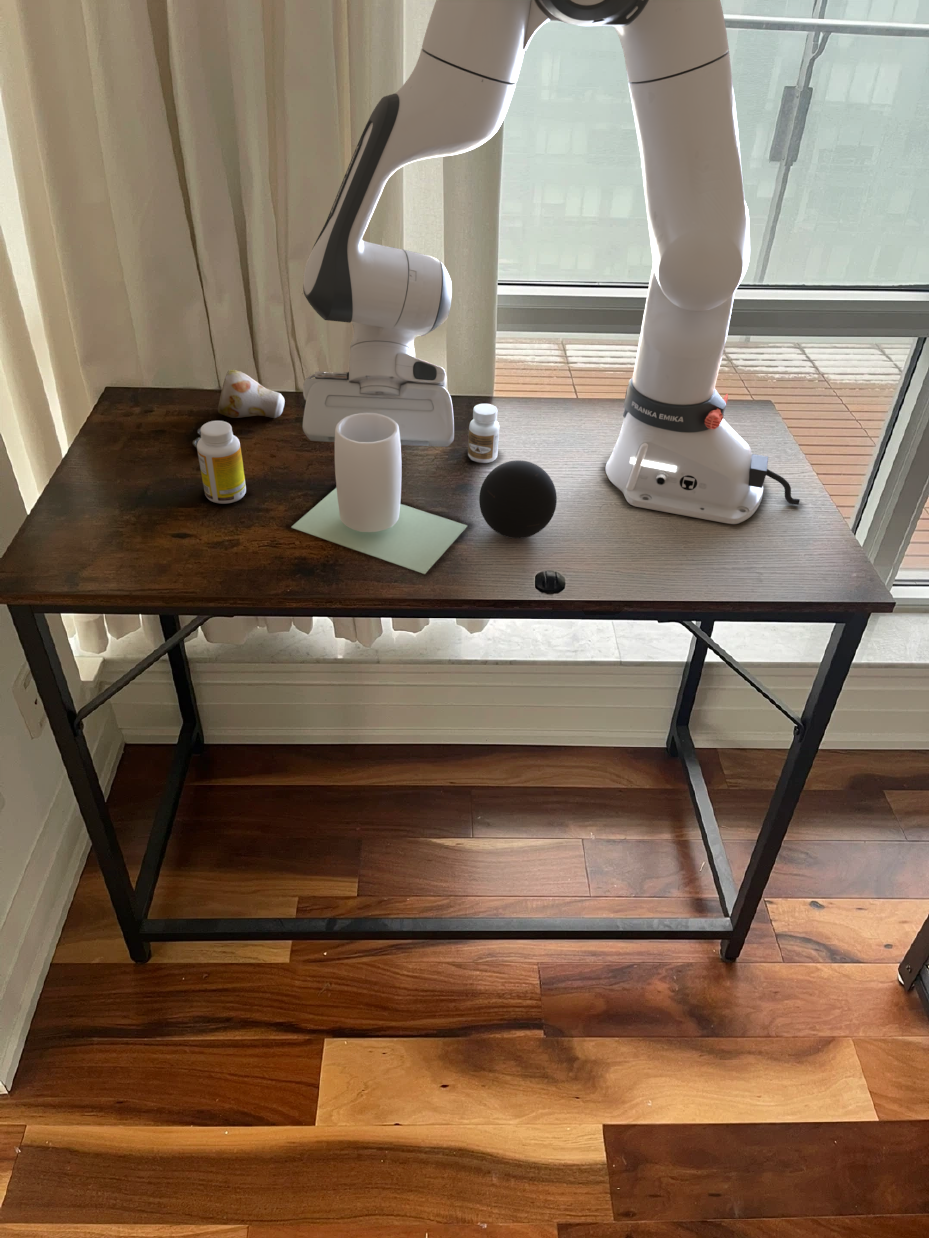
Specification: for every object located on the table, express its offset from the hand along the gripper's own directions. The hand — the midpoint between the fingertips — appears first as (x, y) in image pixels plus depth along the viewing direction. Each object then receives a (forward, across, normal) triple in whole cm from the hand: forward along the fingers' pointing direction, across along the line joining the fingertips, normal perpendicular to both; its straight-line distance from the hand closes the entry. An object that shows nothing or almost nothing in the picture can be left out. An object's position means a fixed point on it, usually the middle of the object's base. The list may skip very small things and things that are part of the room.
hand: (377, 475), depth 125 cm
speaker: (+7, +19, -1) cm, 20 cm away
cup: (+7, -1, 0) cm, 7 cm away
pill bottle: (-6, +14, +13) cm, 20 cm away
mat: (+7, +1, -1) cm, 7 cm away
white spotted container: (-13, -21, +20) cm, 31 cm away
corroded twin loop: (-7, -25, +13) cm, 29 cm away
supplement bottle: (+3, -21, +4) cm, 21 cm away
